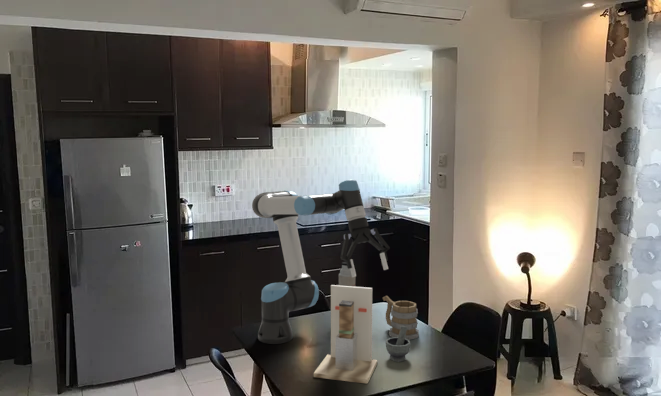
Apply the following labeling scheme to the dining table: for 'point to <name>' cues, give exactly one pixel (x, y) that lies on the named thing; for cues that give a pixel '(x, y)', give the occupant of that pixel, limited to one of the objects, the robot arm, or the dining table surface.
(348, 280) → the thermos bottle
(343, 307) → the oak post
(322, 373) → the birch base plate
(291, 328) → the robot arm
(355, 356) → the metal sleeve
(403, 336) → the mortar and pestle
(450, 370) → the dining table surface
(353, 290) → the board
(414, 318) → the tankard
